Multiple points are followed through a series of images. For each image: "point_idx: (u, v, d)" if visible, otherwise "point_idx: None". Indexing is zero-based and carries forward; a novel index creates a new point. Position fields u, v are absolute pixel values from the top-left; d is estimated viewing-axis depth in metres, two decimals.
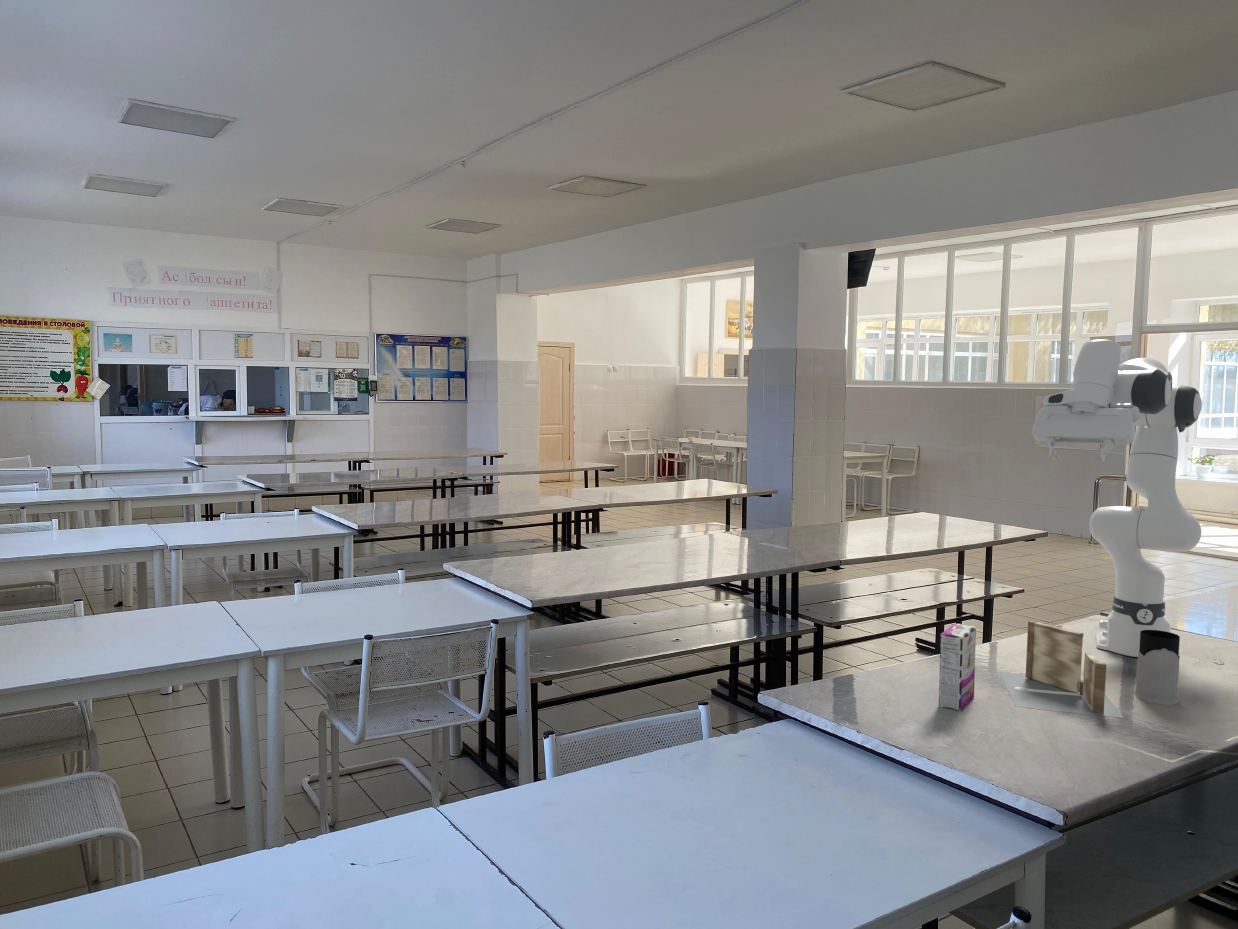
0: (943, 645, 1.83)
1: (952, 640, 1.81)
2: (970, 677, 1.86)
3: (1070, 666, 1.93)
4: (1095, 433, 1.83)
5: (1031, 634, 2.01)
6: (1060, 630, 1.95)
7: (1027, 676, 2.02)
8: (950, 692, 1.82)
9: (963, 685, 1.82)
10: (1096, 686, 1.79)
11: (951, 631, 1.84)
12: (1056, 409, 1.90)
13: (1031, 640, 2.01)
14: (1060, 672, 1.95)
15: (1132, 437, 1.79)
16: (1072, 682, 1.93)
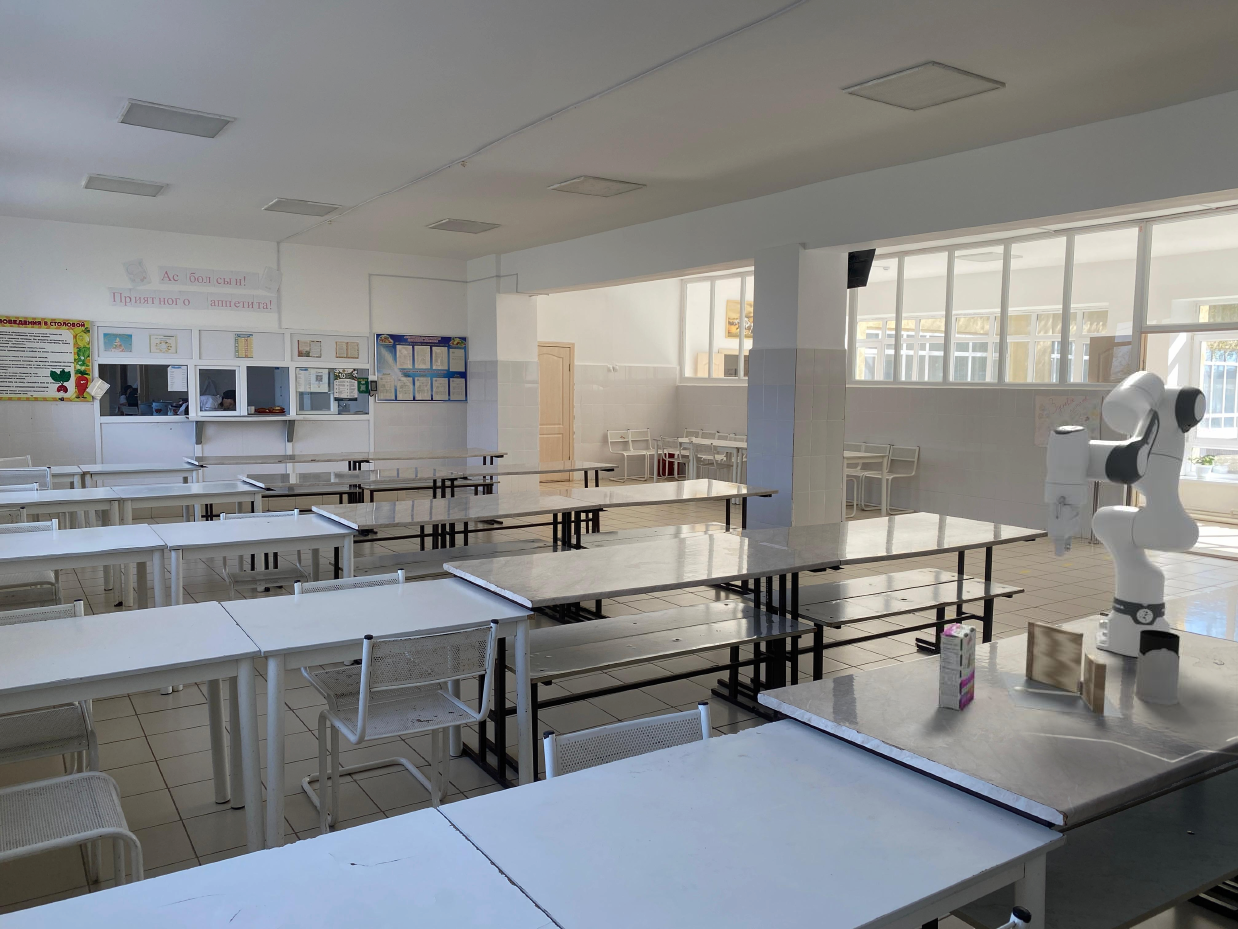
0: (943, 645, 1.83)
1: (952, 640, 1.81)
2: (970, 677, 1.86)
3: (1070, 666, 1.93)
4: None
5: (1031, 634, 2.01)
6: (1060, 630, 1.95)
7: (1027, 676, 2.02)
8: (950, 692, 1.82)
9: (963, 685, 1.82)
10: (1096, 686, 1.79)
11: (951, 631, 1.84)
12: None
13: (1031, 640, 2.01)
14: (1060, 672, 1.95)
15: (1056, 534, 1.90)
16: (1072, 682, 1.93)
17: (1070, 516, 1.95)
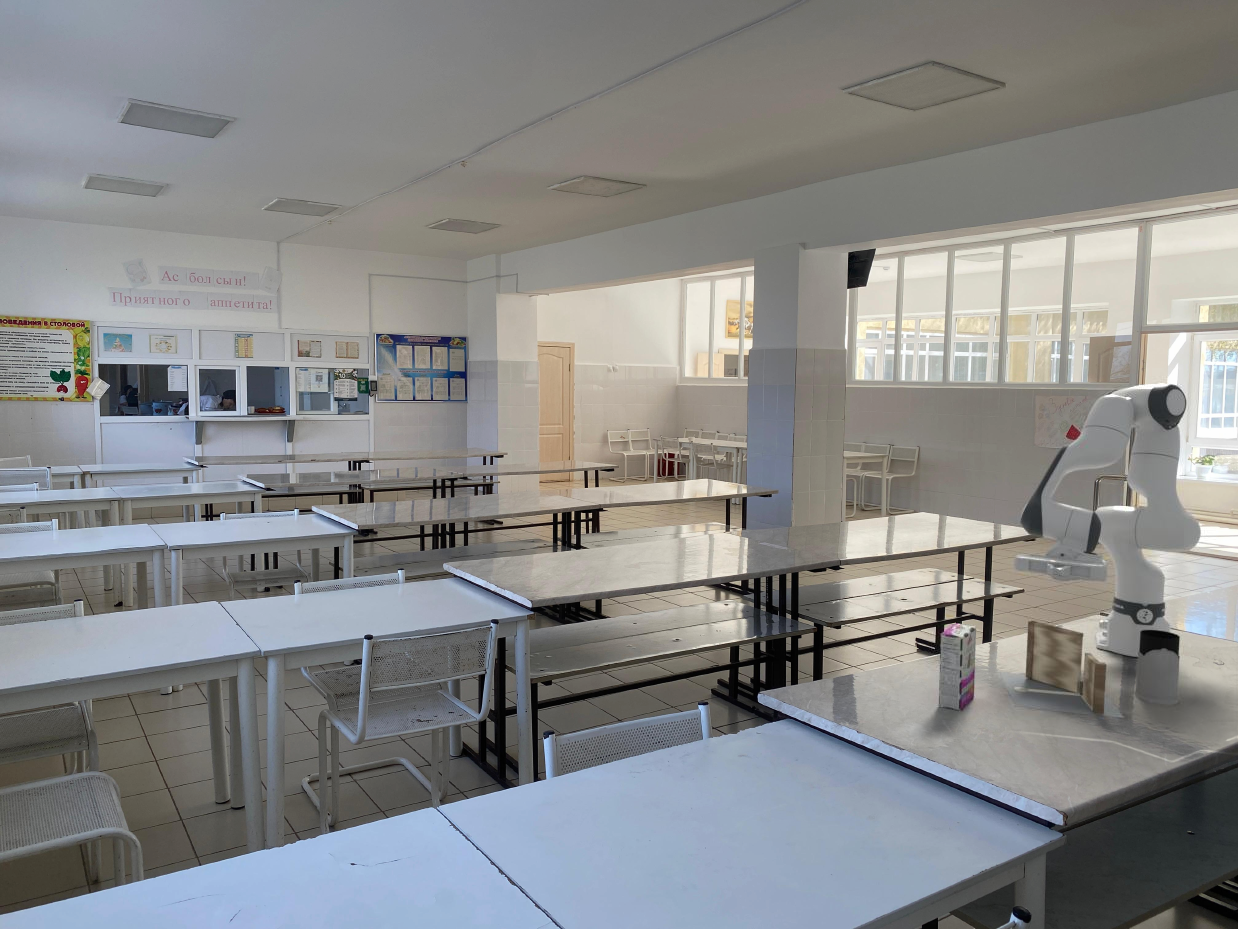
0: (943, 645, 1.83)
1: (952, 640, 1.81)
2: (970, 677, 1.86)
3: (1070, 666, 1.93)
4: (1043, 573, 2.07)
5: (1031, 634, 2.01)
6: (1060, 630, 1.95)
7: (1027, 676, 2.02)
8: (950, 692, 1.82)
9: (963, 685, 1.82)
10: (1096, 686, 1.79)
11: (951, 631, 1.84)
12: None
13: (1031, 640, 2.01)
14: (1060, 672, 1.95)
15: None
16: (1072, 682, 1.93)
17: (1051, 558, 2.09)
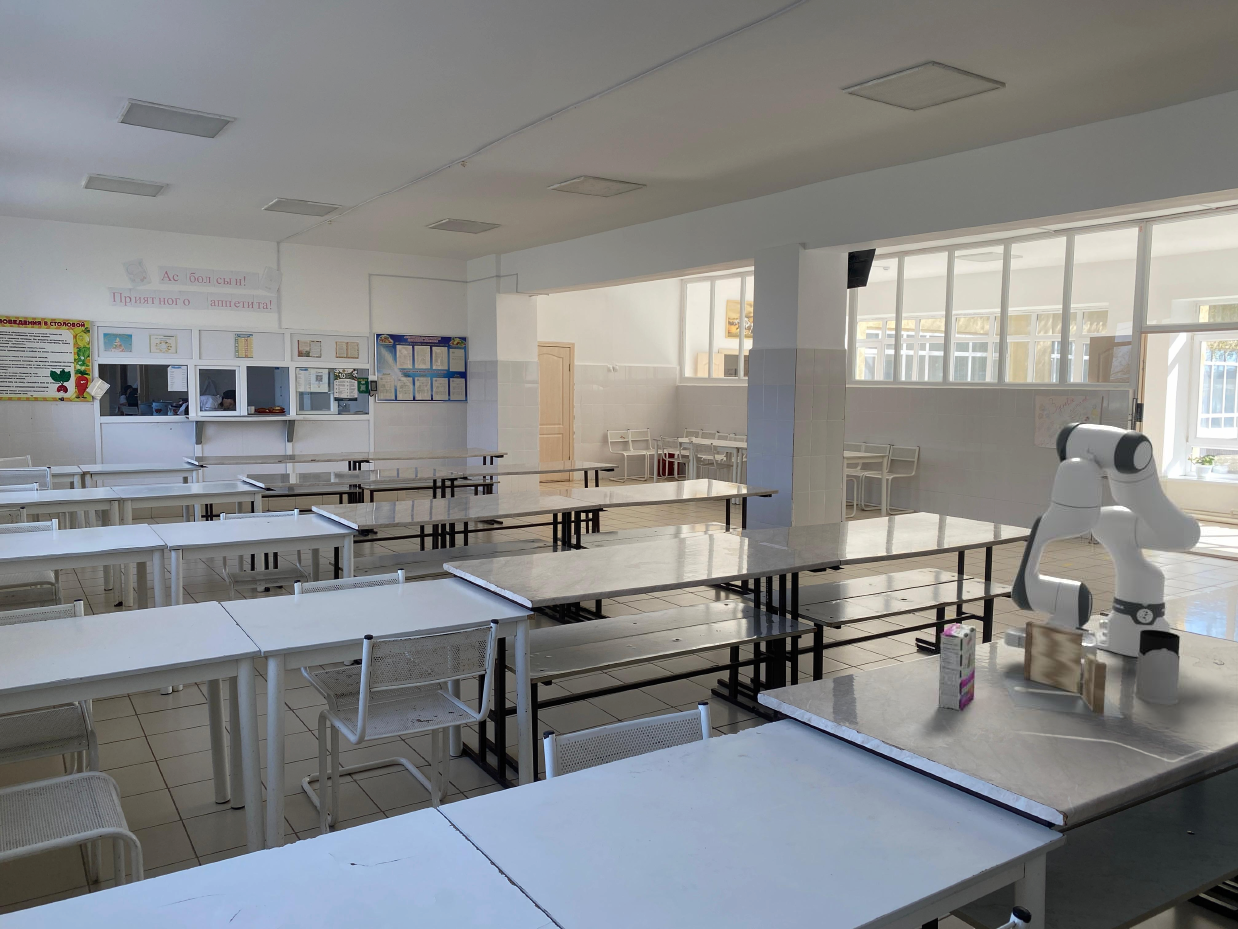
0: (943, 645, 1.83)
1: (952, 640, 1.81)
2: (970, 677, 1.86)
3: (1070, 666, 1.93)
4: None
5: (1029, 635, 2.00)
6: (1059, 630, 1.94)
7: (1025, 677, 2.01)
8: (950, 692, 1.82)
9: (963, 685, 1.82)
10: (1096, 686, 1.79)
11: (951, 631, 1.84)
12: None
13: (1029, 641, 2.00)
14: (1059, 672, 1.95)
15: None
16: (1072, 682, 1.93)
17: None
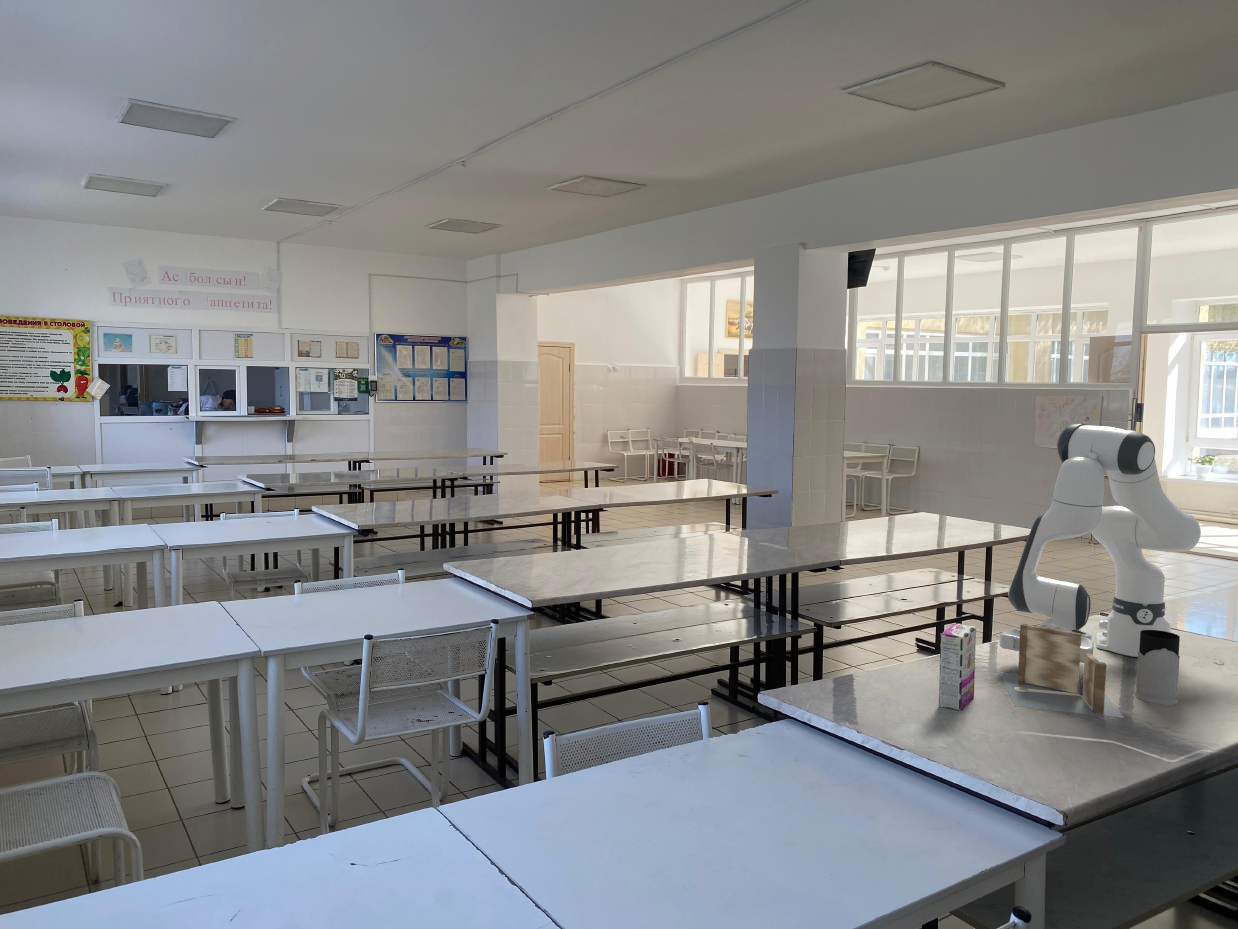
0: (943, 645, 1.83)
1: (952, 640, 1.81)
2: (970, 677, 1.86)
3: (1069, 667, 1.92)
4: None
5: (1024, 637, 1.98)
6: (1058, 632, 1.93)
7: (1020, 680, 1.99)
8: (950, 692, 1.82)
9: (963, 685, 1.82)
10: (1096, 686, 1.79)
11: (951, 631, 1.84)
12: None
13: (1024, 644, 1.98)
14: (1058, 673, 1.94)
15: None
16: (1071, 683, 1.92)
17: None
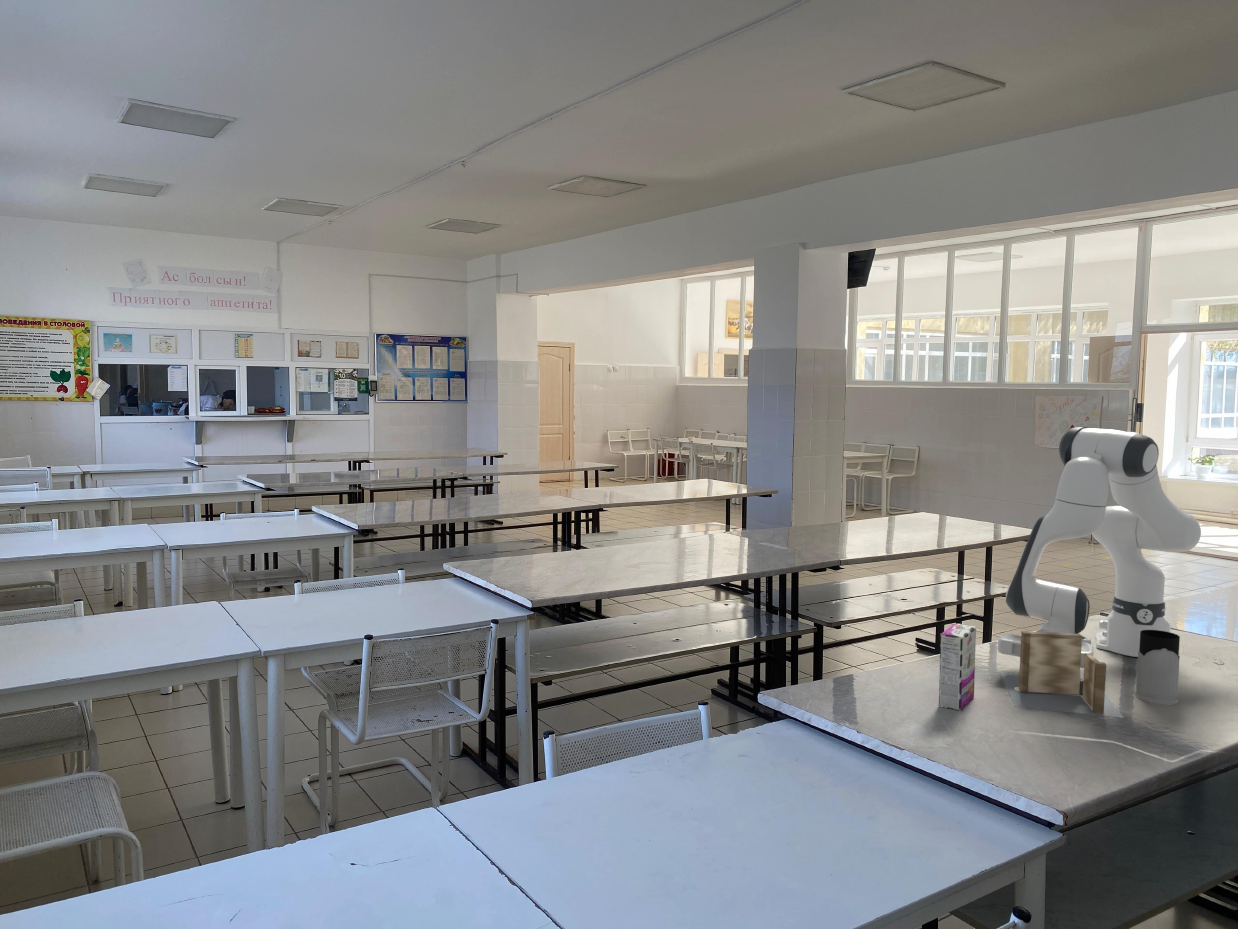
0: (943, 645, 1.83)
1: (952, 640, 1.81)
2: (970, 677, 1.86)
3: (1071, 669, 1.91)
4: None
5: (1028, 645, 1.91)
6: (1061, 635, 1.90)
7: (1023, 690, 1.92)
8: (950, 692, 1.82)
9: (963, 685, 1.82)
10: (1096, 686, 1.79)
11: (951, 631, 1.84)
12: None
13: (1028, 652, 1.91)
14: (1060, 677, 1.91)
15: None
16: (1074, 685, 1.91)
17: None
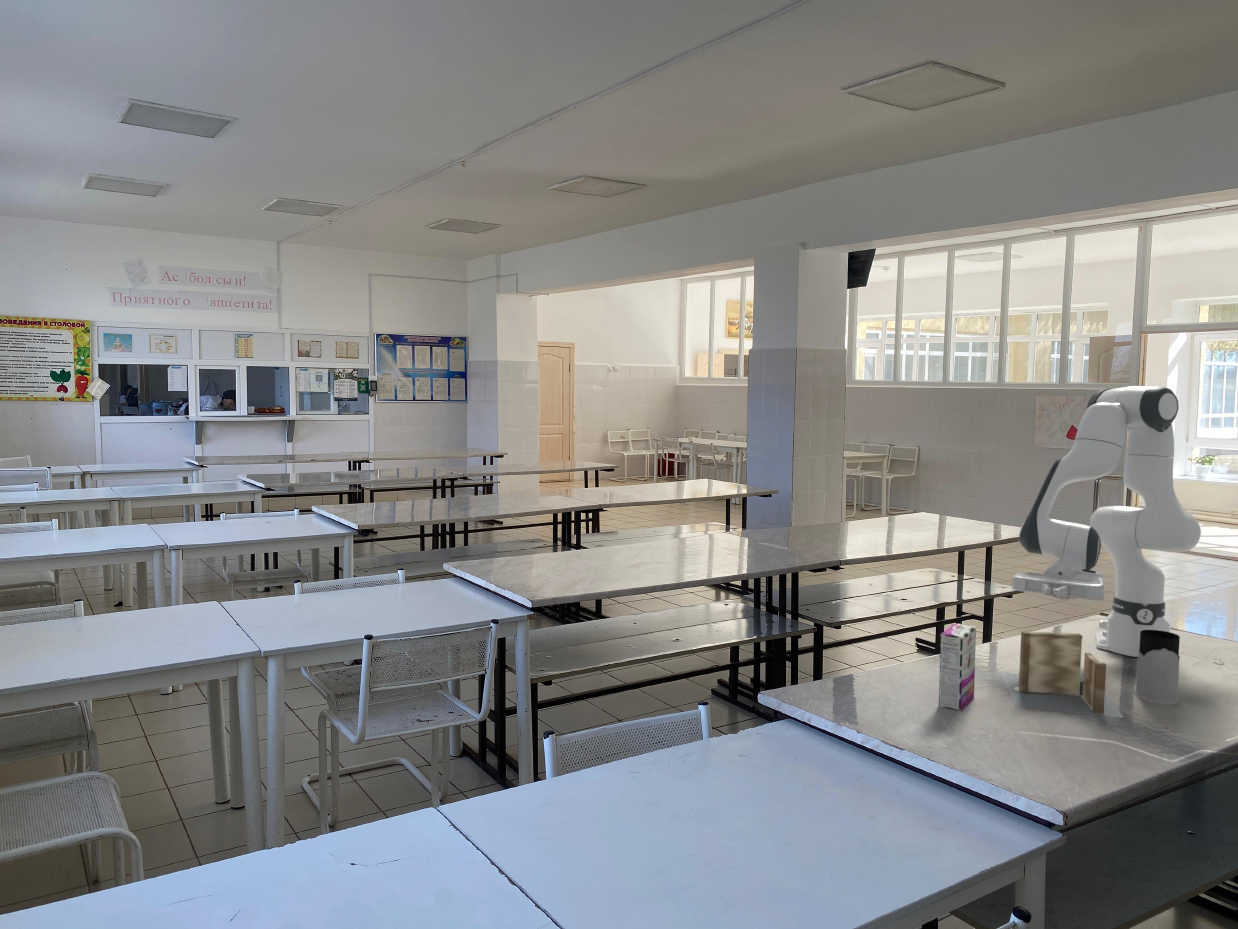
0: (943, 645, 1.83)
1: (952, 640, 1.81)
2: (970, 677, 1.86)
3: (1071, 669, 1.91)
4: (1040, 593, 2.07)
5: (1028, 645, 1.91)
6: (1061, 635, 1.90)
7: (1023, 690, 1.92)
8: (950, 692, 1.82)
9: (963, 685, 1.82)
10: (1096, 686, 1.79)
11: (951, 631, 1.84)
12: None
13: (1028, 652, 1.91)
14: (1060, 677, 1.91)
15: None
16: (1074, 685, 1.91)
17: None
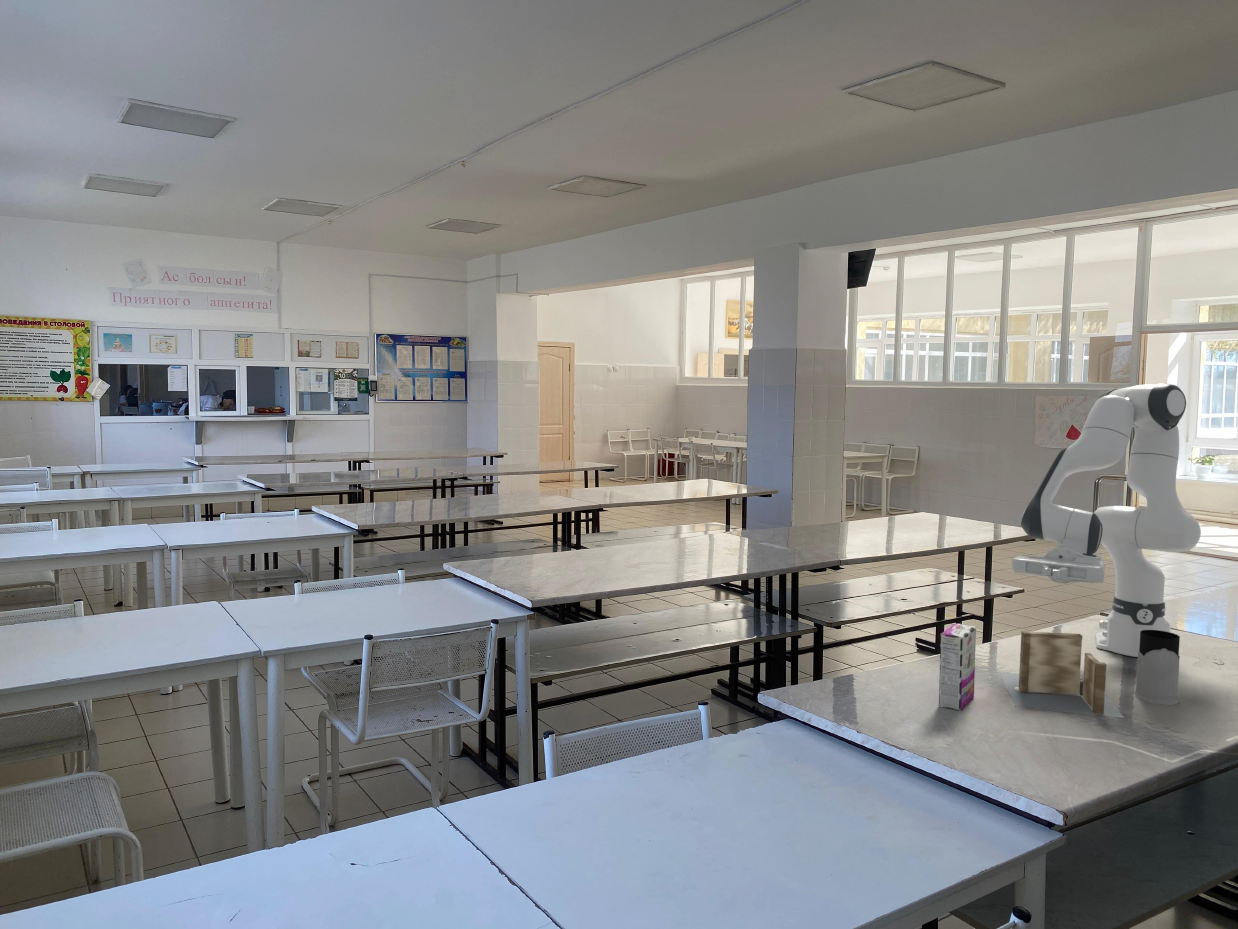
0: (943, 645, 1.83)
1: (952, 640, 1.81)
2: (970, 677, 1.86)
3: (1071, 669, 1.91)
4: (1040, 575, 2.07)
5: (1028, 645, 1.91)
6: (1061, 635, 1.90)
7: (1023, 690, 1.92)
8: (950, 692, 1.82)
9: (963, 685, 1.82)
10: (1096, 686, 1.79)
11: (951, 631, 1.84)
12: None
13: (1028, 652, 1.91)
14: (1060, 677, 1.91)
15: None
16: (1074, 685, 1.91)
17: (1050, 560, 2.09)
